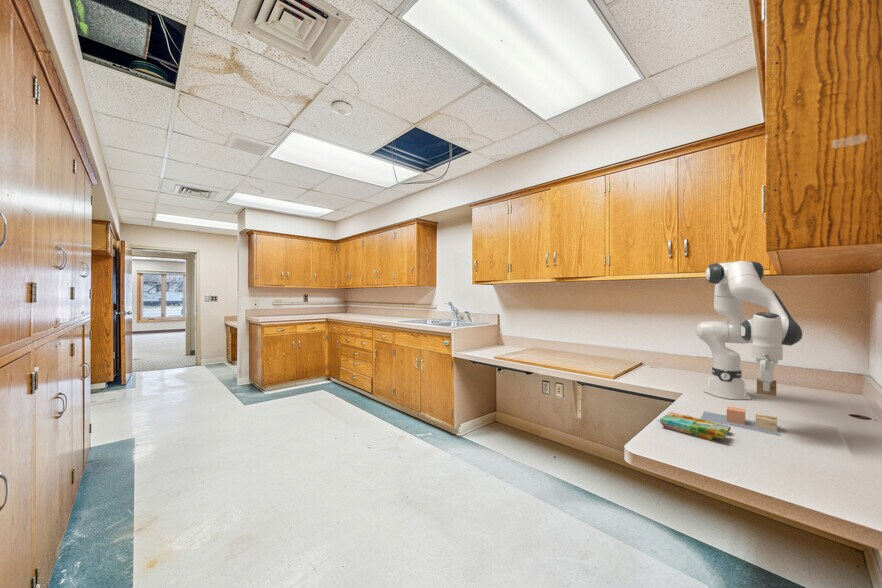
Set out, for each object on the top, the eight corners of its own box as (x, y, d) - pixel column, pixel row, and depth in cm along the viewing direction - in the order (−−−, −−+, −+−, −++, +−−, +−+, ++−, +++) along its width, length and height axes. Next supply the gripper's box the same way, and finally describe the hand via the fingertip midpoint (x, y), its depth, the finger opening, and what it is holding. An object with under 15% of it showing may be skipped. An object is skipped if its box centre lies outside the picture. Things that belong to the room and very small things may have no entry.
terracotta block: (727, 417, 144) (727, 405, 144) (745, 421, 140) (745, 409, 140) (726, 421, 140) (726, 409, 140) (744, 424, 136) (744, 412, 136)
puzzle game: (669, 410, 144) (730, 424, 128) (669, 421, 144) (730, 436, 128) (660, 416, 136) (723, 432, 121) (659, 428, 136) (723, 445, 121)
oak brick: (756, 423, 138) (756, 413, 138) (776, 427, 133) (776, 417, 133) (755, 427, 133) (755, 417, 133) (776, 431, 129) (777, 421, 129)
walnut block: (757, 390, 137) (757, 378, 137) (776, 393, 133) (776, 380, 133) (756, 393, 133) (756, 380, 133) (776, 396, 129) (776, 383, 129)
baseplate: (704, 413, 151) (704, 411, 151) (780, 429, 135) (780, 426, 135) (699, 421, 142) (699, 419, 142) (780, 439, 125) (780, 436, 125)
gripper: (778, 358, 124) (778, 396, 124) (777, 351, 138) (777, 385, 138) (754, 356, 128) (754, 392, 128) (756, 349, 143) (756, 382, 143)
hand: (766, 389), depth 133 cm, fingers closed on walnut block, 5 cm apart
